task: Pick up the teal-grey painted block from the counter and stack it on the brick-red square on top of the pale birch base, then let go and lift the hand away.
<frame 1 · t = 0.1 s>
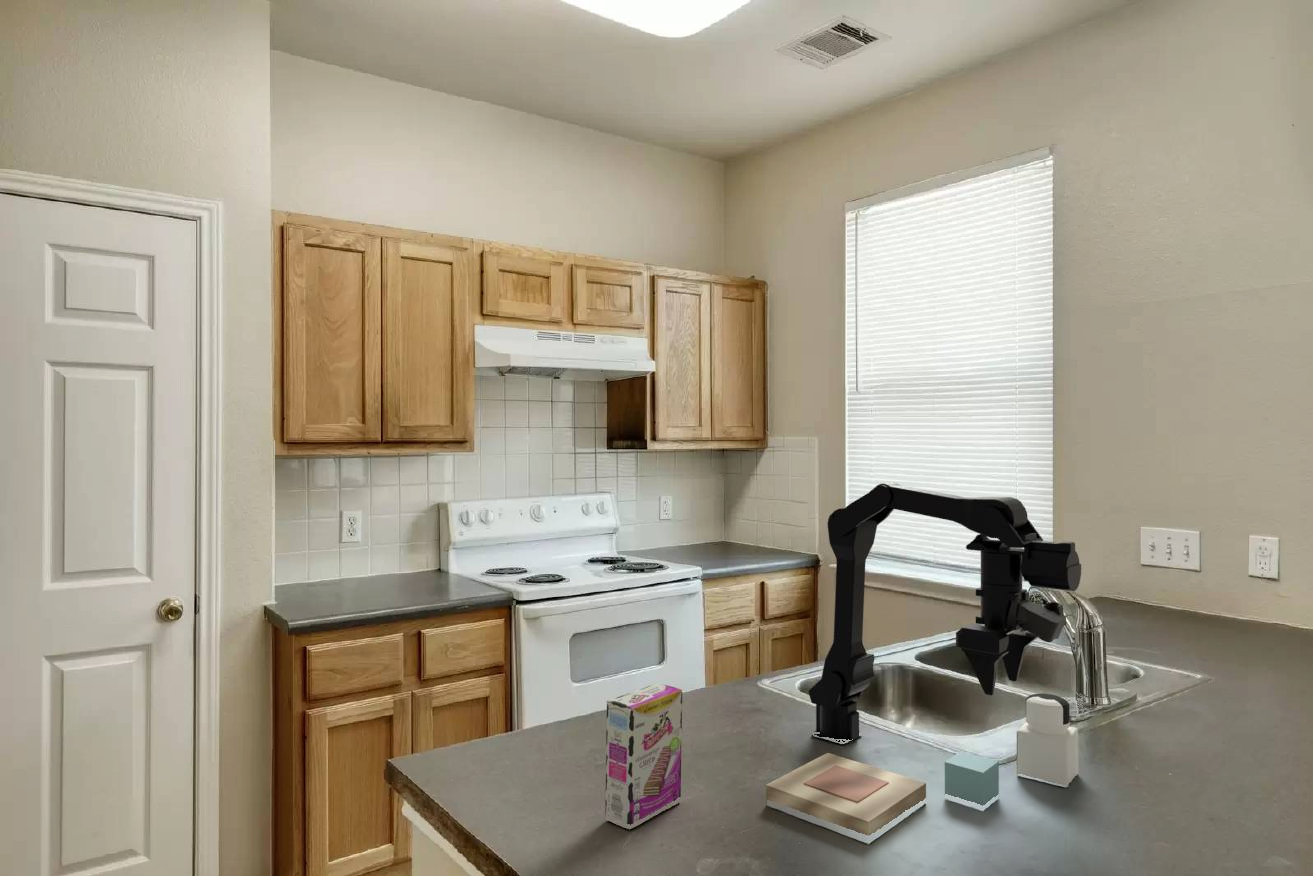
hand: (1001, 687, 122), 14 cm above the counter, tool pointing down, fingers open, 9 cm apart
teal block: (971, 800, 117), on the counter
candy bar box: (645, 814, 113), on the counter
stack base: (846, 805, 115), on the counter
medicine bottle: (1047, 777, 125), on the counter
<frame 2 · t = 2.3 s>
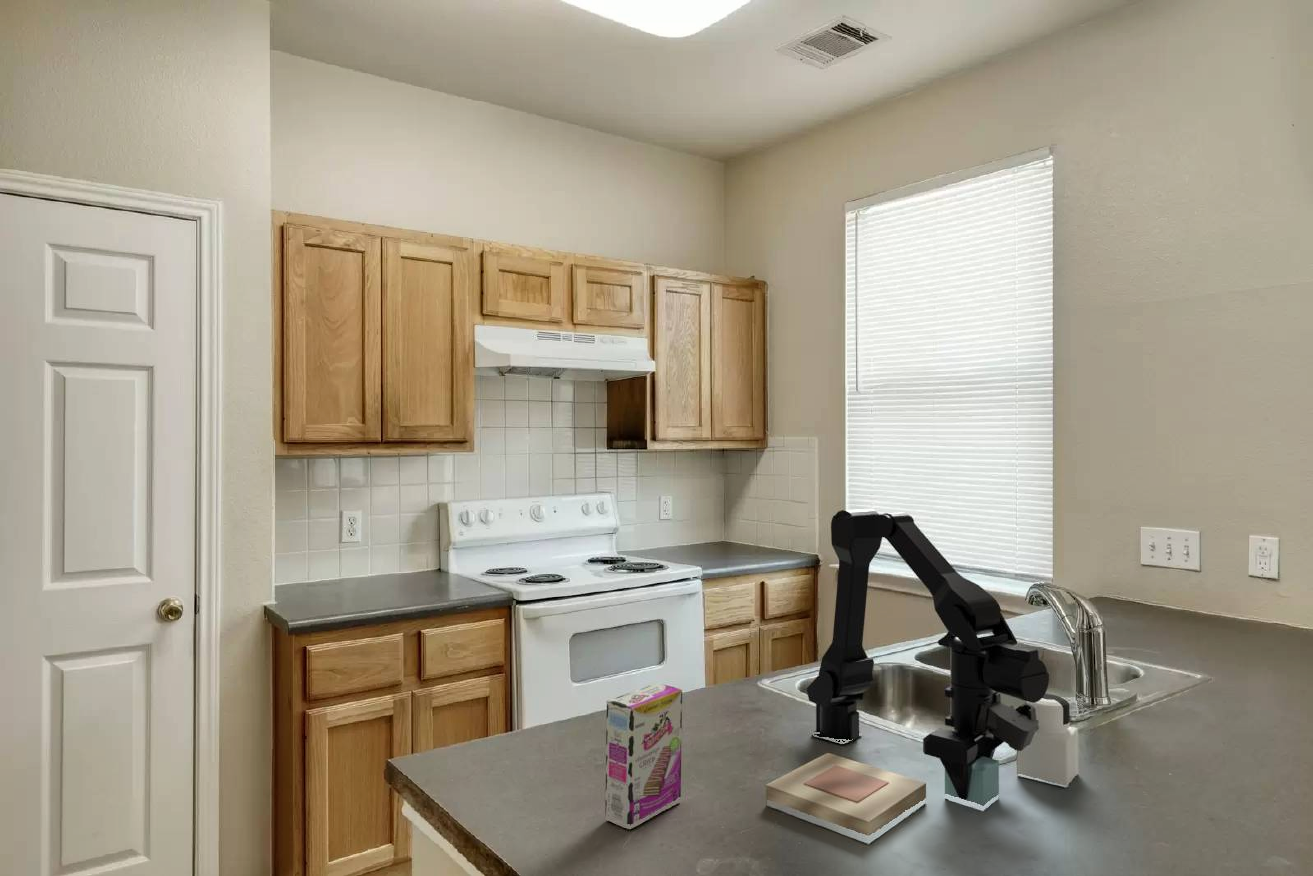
hand: (971, 792, 117), 1 cm above the counter, tool pointing down, fingers closed on teal block, 5 cm apart
teal block: (971, 799, 117), on the counter, touching gripper
everything else where it was.
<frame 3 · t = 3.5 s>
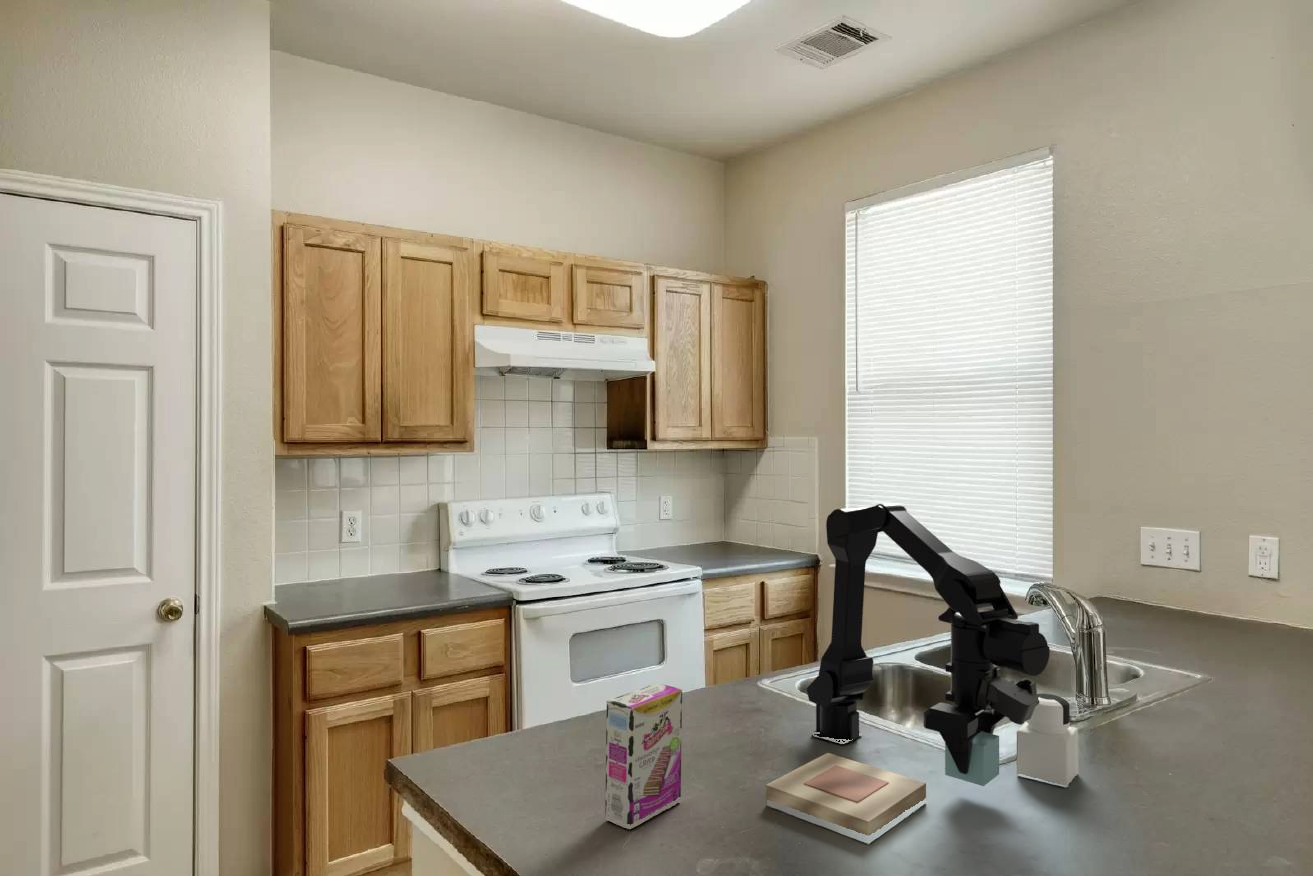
hand: (972, 767, 117), 5 cm above the counter, tool pointing down, fingers closed on teal block, 5 cm apart
teal block: (972, 774, 117), point 4 cm above the counter, touching gripper
everything else where it was.
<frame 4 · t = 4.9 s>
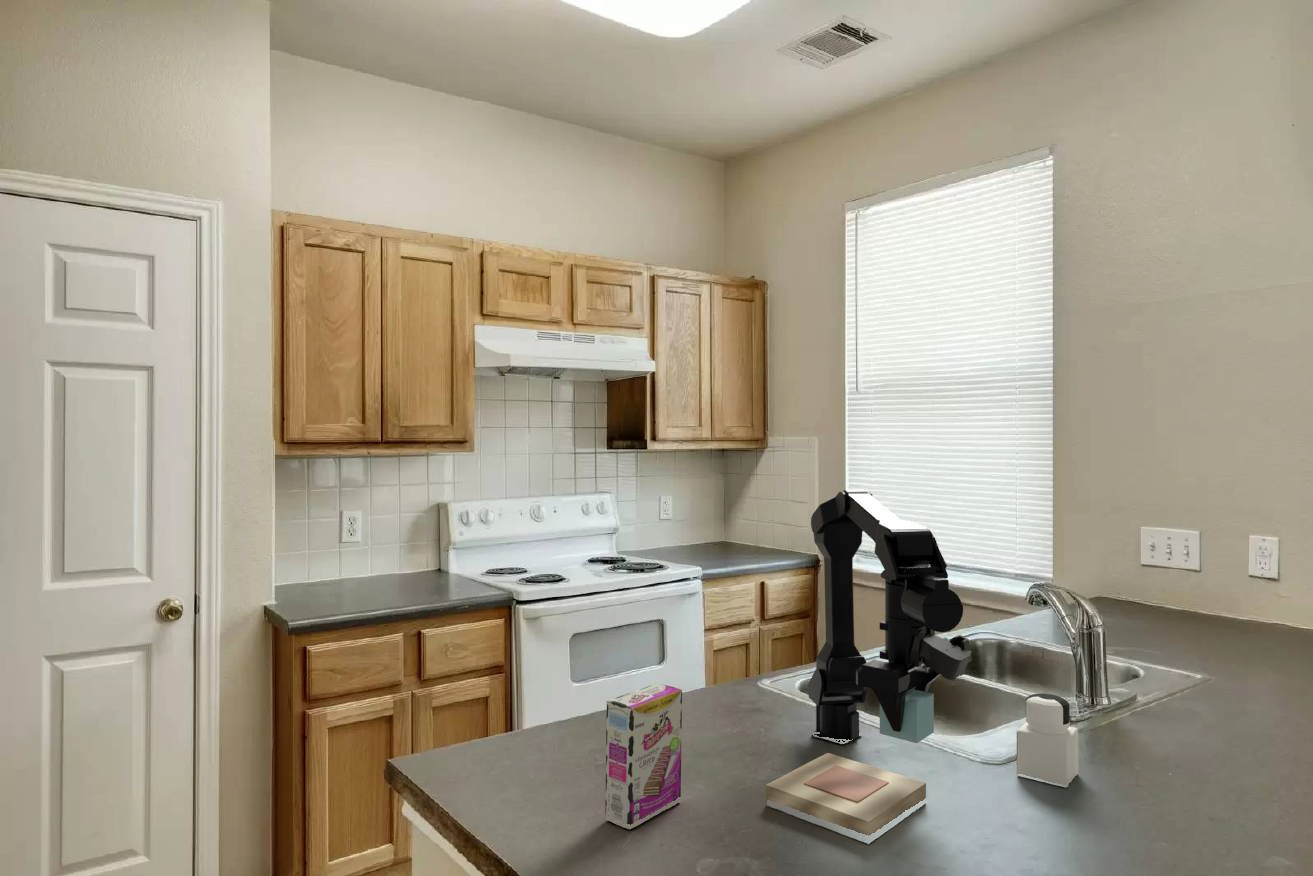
hand: (906, 725, 116), 11 cm above the counter, tool pointing down, fingers closed on teal block, 5 cm apart
teal block: (906, 733, 116), point 10 cm above the counter, touching gripper
everything else where it was.
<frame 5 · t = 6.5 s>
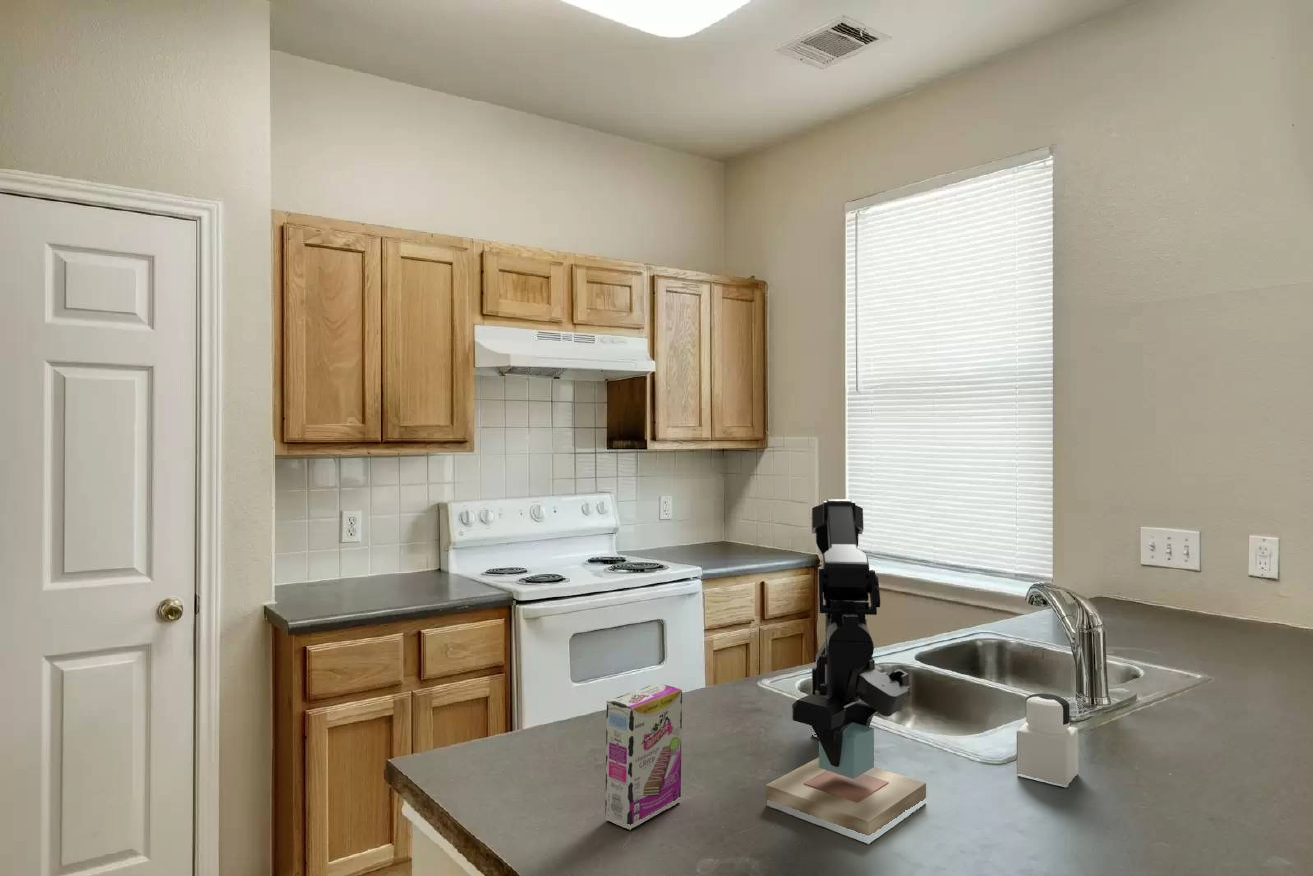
hand: (846, 760, 115), 6 cm above the counter, tool pointing down, fingers closed on teal block, 5 cm apart
teal block: (846, 767, 115), point 5 cm above the counter, touching gripper
everything else where it was.
when the fingers open (5 cm above the counter, at t = 7.6 s): teal block drops 1 cm, resting on stack base.
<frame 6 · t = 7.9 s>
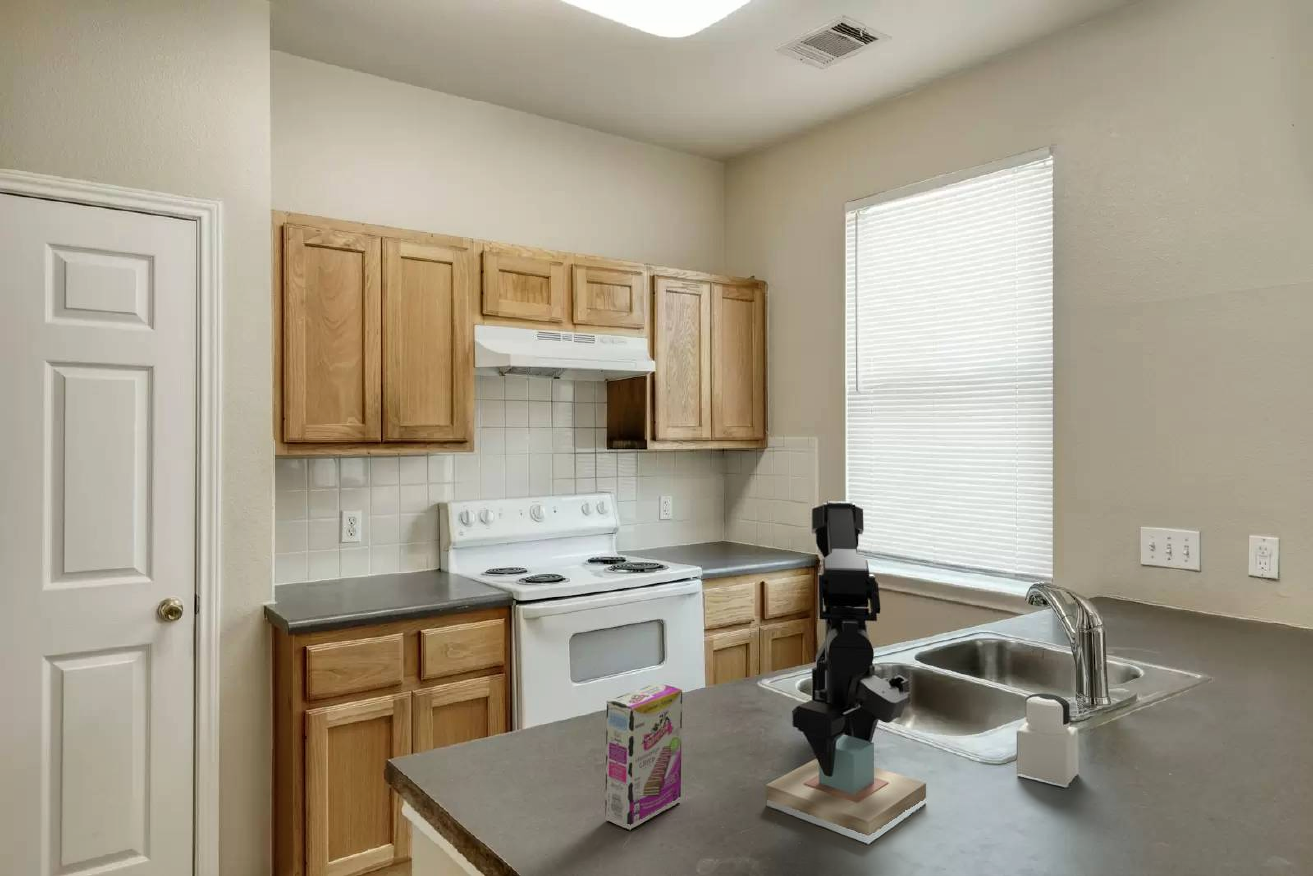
hand: (846, 766, 115), 5 cm above the counter, tool pointing down, fingers open, 9 cm apart
teal block: (846, 782, 115), point 3 cm above the counter, touching stack base
everything else where it was.
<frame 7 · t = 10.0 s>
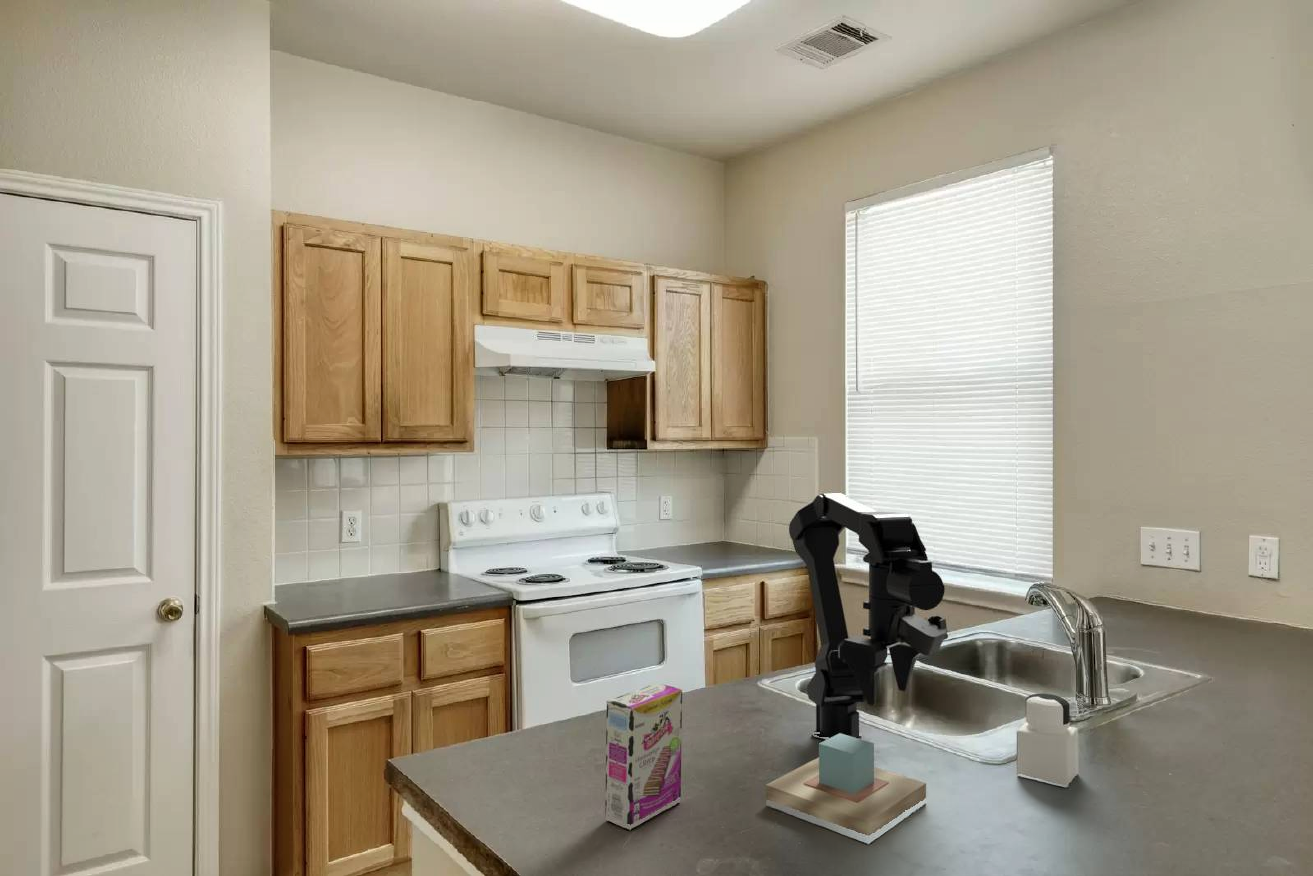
hand: (887, 697, 126), 12 cm above the counter, tool pointing down, fingers open, 9 cm apart
nothing on the counter moved.
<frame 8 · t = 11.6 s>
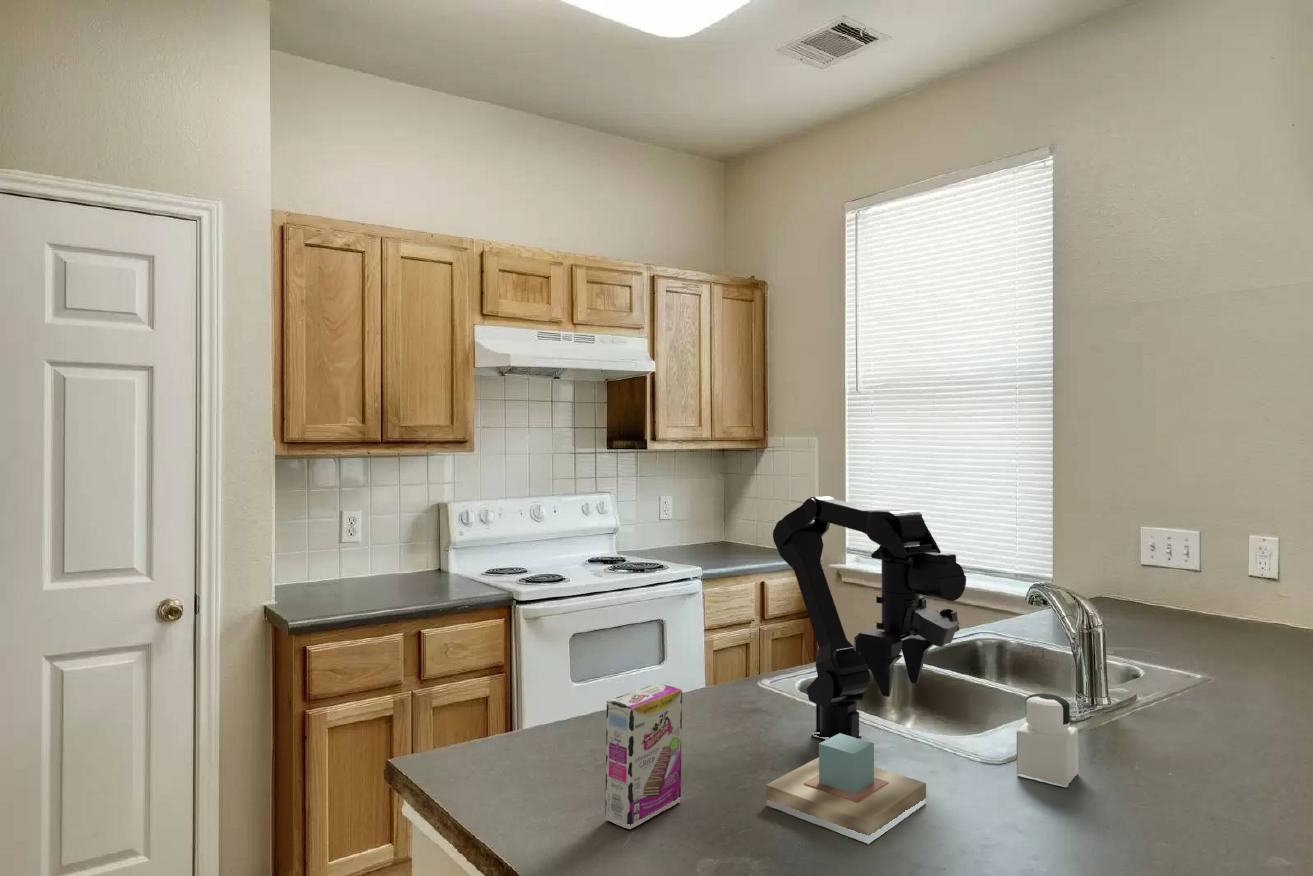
hand: (900, 689, 129), 12 cm above the counter, tool pointing down, fingers open, 9 cm apart
nothing on the counter moved.
at the end: teal block inside the target area on the stack base (0.0 cm from its centre), point 3.2 cm above the stack base's base; teal block tilted 0°; the gripper is holding nothing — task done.
